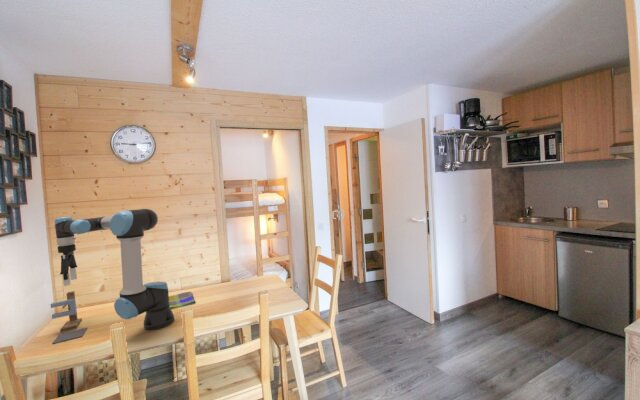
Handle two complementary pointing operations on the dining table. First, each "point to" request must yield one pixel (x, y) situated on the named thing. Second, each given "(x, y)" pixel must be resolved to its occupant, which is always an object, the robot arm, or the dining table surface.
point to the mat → (69, 335)
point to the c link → (65, 313)
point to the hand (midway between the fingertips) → (70, 282)
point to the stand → (71, 316)
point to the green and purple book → (181, 300)
